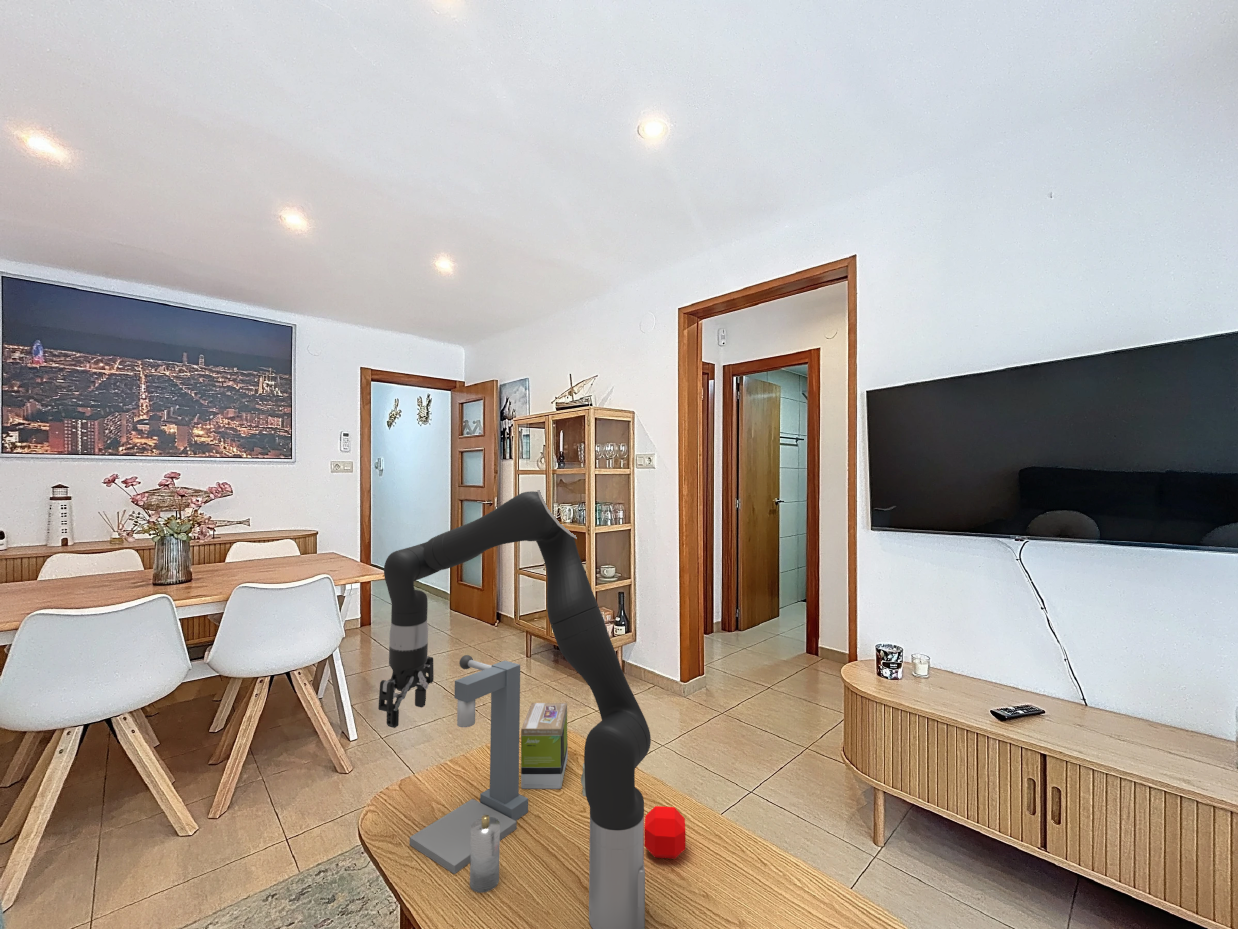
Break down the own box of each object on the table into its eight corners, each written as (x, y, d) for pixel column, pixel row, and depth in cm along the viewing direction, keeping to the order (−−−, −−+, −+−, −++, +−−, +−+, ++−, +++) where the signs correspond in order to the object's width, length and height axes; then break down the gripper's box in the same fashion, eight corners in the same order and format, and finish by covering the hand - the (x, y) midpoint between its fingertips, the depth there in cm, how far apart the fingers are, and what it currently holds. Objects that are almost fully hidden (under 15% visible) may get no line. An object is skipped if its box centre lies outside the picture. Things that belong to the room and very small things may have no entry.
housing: (501, 871, 100) (502, 808, 101) (495, 892, 95) (496, 826, 95) (473, 871, 100) (474, 808, 100) (466, 892, 95) (467, 826, 95)
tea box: (530, 757, 142) (531, 701, 142) (568, 757, 142) (568, 701, 142) (519, 790, 127) (520, 727, 127) (561, 790, 127) (562, 727, 127)
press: (454, 874, 99) (457, 700, 100) (386, 829, 112) (389, 675, 113) (534, 815, 117) (536, 668, 118) (468, 782, 129) (470, 649, 131)
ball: (684, 839, 109) (684, 801, 110) (685, 867, 101) (685, 826, 102) (645, 837, 110) (645, 799, 110) (643, 864, 102) (644, 824, 102)
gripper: (400, 658, 103) (398, 738, 105) (444, 632, 117) (442, 703, 118) (368, 651, 106) (367, 730, 107) (416, 627, 119) (414, 696, 120)
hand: (406, 716), depth 112 cm, fingers open, 8 cm apart
